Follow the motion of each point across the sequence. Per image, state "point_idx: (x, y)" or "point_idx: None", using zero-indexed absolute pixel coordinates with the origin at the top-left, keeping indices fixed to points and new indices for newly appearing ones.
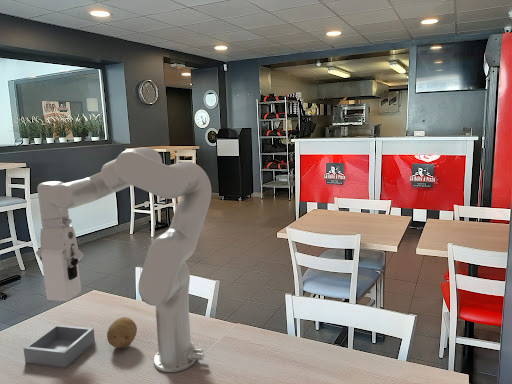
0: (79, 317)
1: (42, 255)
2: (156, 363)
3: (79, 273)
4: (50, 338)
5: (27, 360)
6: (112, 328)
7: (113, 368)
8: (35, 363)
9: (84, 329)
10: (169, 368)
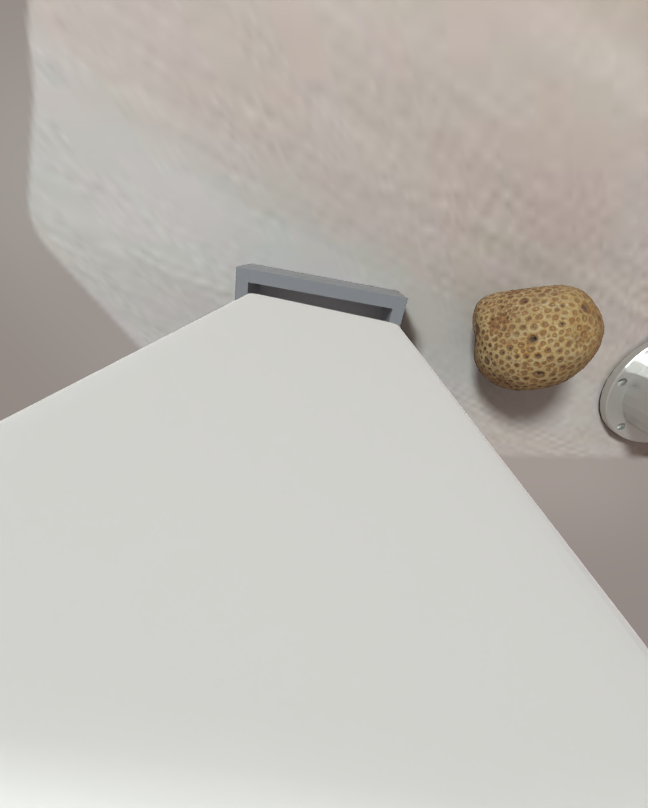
0: (240, 53)
1: None
2: (612, 421)
3: (434, 373)
4: None
5: None
6: (519, 382)
7: (487, 418)
8: None
9: (372, 304)
10: (645, 440)
